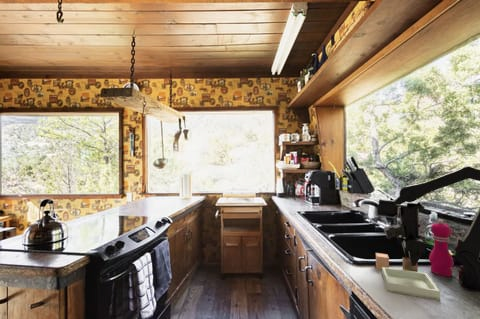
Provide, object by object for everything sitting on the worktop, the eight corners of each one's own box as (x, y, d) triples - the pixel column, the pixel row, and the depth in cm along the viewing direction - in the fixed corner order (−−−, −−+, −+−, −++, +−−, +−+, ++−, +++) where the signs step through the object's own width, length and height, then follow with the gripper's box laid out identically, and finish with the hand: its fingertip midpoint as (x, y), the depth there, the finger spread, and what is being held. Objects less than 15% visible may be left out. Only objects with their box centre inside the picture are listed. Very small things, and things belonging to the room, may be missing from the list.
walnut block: (414, 271, 95) (414, 258, 95) (417, 276, 91) (417, 262, 91) (402, 270, 97) (402, 257, 97) (404, 274, 93) (404, 260, 93)
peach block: (387, 267, 99) (387, 254, 99) (388, 271, 96) (388, 257, 96) (375, 265, 101) (375, 253, 101) (377, 269, 97) (376, 256, 97)
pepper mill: (431, 274, 93) (430, 220, 93) (427, 267, 99) (426, 216, 100) (456, 278, 89) (455, 222, 90) (450, 270, 96) (450, 218, 96)
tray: (426, 280, 88) (426, 273, 88) (440, 300, 75) (440, 291, 75) (382, 274, 93) (382, 267, 93) (388, 291, 80) (387, 283, 80)
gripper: (381, 213, 106) (382, 250, 106) (388, 223, 89) (389, 267, 88) (413, 215, 102) (413, 254, 101) (427, 226, 84) (427, 272, 84)
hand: (410, 261), depth 94 cm, fingers open, 9 cm apart
